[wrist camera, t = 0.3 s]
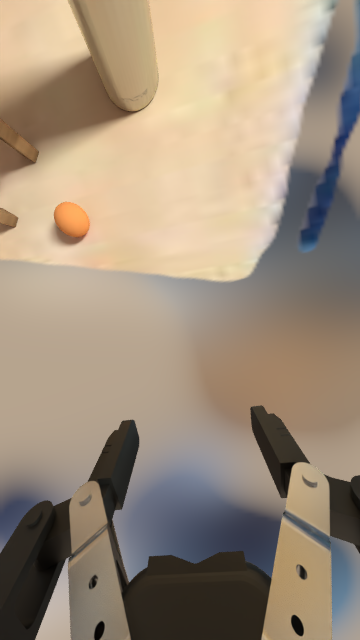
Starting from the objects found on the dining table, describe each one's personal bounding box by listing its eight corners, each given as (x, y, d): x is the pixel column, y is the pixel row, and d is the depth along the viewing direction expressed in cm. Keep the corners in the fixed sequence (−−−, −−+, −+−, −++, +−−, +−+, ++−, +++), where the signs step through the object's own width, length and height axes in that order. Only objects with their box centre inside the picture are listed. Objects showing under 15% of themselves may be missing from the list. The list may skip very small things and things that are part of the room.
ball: (63, 213, 34) (40, 201, 29) (89, 205, 33) (70, 192, 28) (74, 242, 35) (54, 236, 30) (99, 235, 35) (83, 227, 29)
